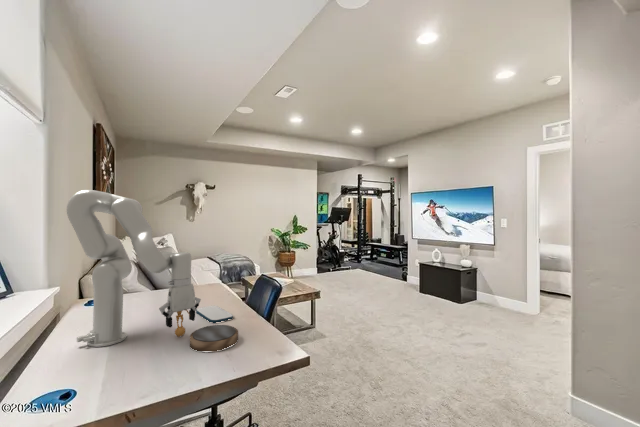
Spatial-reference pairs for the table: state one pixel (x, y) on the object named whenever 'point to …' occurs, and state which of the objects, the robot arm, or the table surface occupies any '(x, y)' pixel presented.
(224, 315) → the external hard drive
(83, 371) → the table surface
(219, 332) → the walnut stand
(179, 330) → the figurine
